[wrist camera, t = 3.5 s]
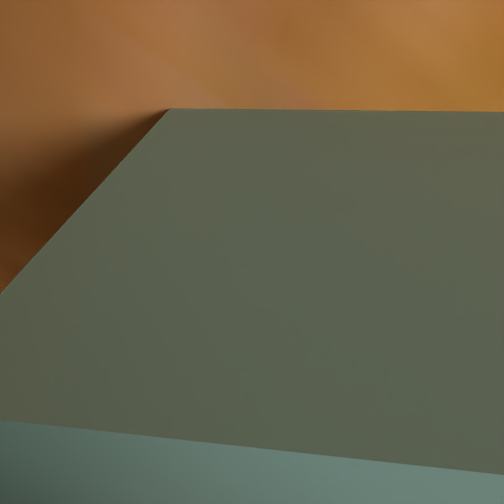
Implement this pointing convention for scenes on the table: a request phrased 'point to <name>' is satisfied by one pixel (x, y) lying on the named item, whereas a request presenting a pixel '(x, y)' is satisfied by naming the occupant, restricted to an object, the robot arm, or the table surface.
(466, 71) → the table surface
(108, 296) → the cube
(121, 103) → the table surface
